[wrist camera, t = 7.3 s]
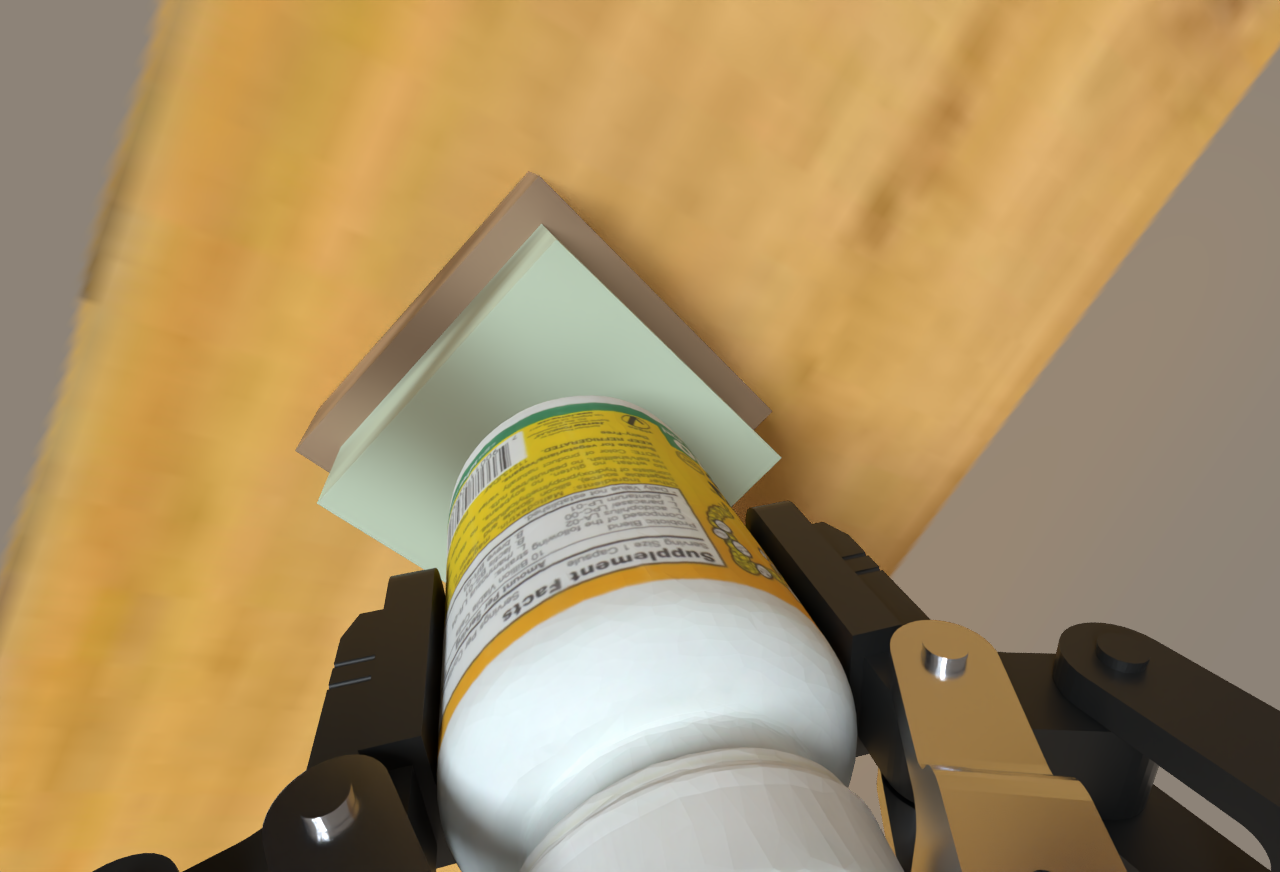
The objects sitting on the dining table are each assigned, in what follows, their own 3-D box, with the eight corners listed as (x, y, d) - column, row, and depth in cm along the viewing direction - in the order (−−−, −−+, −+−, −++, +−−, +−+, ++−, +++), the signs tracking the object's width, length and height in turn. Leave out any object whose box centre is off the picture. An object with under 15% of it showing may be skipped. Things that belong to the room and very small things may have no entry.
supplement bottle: (426, 409, 13) (340, 938, 4) (694, 371, 14) (1060, 741, 5) (474, 631, 15) (481, 1273, 7) (702, 585, 16) (969, 1092, 7)
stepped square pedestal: (528, 171, 18) (553, 181, 13) (735, 379, 22) (821, 454, 17) (318, 408, 19) (262, 508, 14) (550, 566, 23) (574, 692, 18)
